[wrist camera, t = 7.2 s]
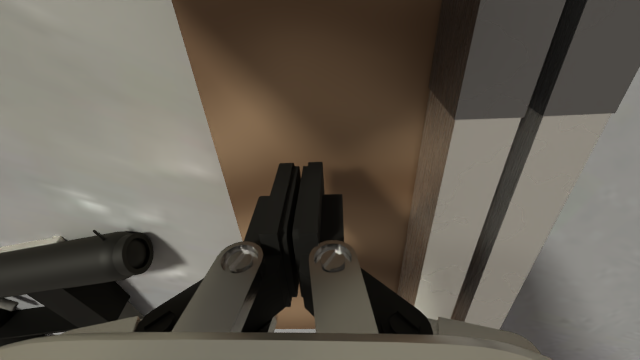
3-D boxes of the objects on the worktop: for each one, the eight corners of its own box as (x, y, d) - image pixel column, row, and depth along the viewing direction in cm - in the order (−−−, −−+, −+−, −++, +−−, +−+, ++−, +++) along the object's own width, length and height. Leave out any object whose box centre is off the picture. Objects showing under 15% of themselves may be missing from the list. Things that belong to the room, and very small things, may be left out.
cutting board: (464, 309, 23) (472, 327, 22) (272, 310, 24) (268, 328, 23) (643, -175, 9) (692, -197, 8) (154, -128, 10) (130, -140, 9)
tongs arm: (425, 306, 20) (439, 354, 18) (394, 306, 21) (403, 354, 18) (526, -83, 9) (602, -102, 6) (453, -78, 9) (501, -95, 7)
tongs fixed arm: (467, 303, 20) (487, 354, 18) (435, 303, 21) (451, 354, 18) (613, -90, 9) (733, -114, 6) (540, -84, 9) (627, -105, 6)
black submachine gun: (227, 364, 26) (96, 245, 16) (35, 381, 29) (-170, 291, 19) (236, 325, 28) (128, 202, 19) (58, 345, 32) (-112, 249, 22)
